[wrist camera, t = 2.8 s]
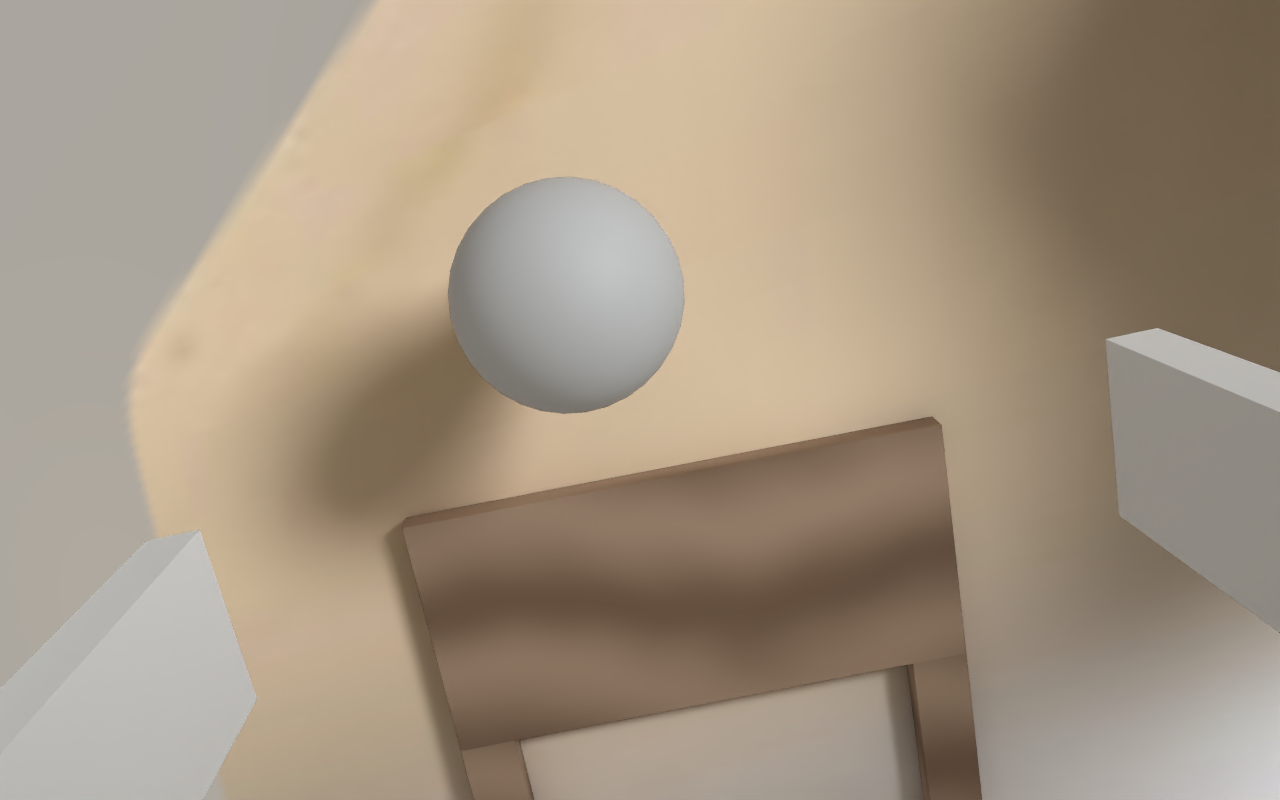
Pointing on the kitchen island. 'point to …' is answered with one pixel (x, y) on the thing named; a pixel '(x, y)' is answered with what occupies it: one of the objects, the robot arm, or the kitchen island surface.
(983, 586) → the kitchen island surface
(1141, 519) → the robot arm
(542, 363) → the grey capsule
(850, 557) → the brown wooden frame
